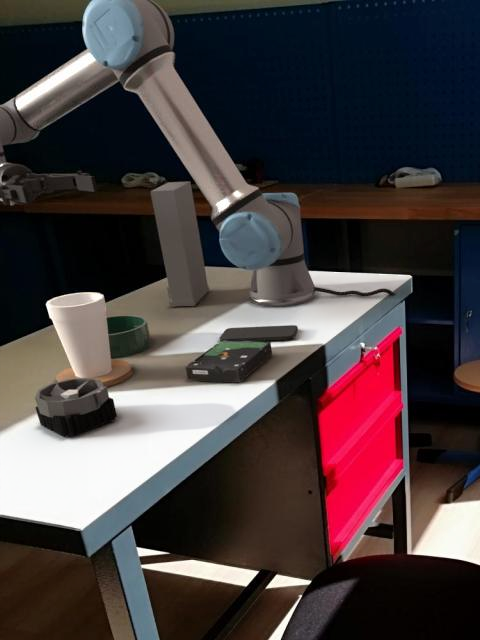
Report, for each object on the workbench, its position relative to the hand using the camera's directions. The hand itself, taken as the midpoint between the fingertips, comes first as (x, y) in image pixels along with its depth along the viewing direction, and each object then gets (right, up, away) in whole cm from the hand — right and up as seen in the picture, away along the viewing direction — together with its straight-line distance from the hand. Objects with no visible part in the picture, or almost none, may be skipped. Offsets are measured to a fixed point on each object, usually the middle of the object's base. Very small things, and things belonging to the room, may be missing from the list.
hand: (61, 189), depth 142 cm
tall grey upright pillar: (+14, -10, +39) cm, 43 cm away
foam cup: (+8, -35, -5) cm, 37 cm away
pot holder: (+8, -36, -5) cm, 37 cm away
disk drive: (+33, -34, -4) cm, 48 cm away
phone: (+35, -25, +11) cm, 45 cm away
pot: (+7, -27, +10) cm, 30 cm away
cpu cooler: (+12, -46, -22) cm, 53 cm away
